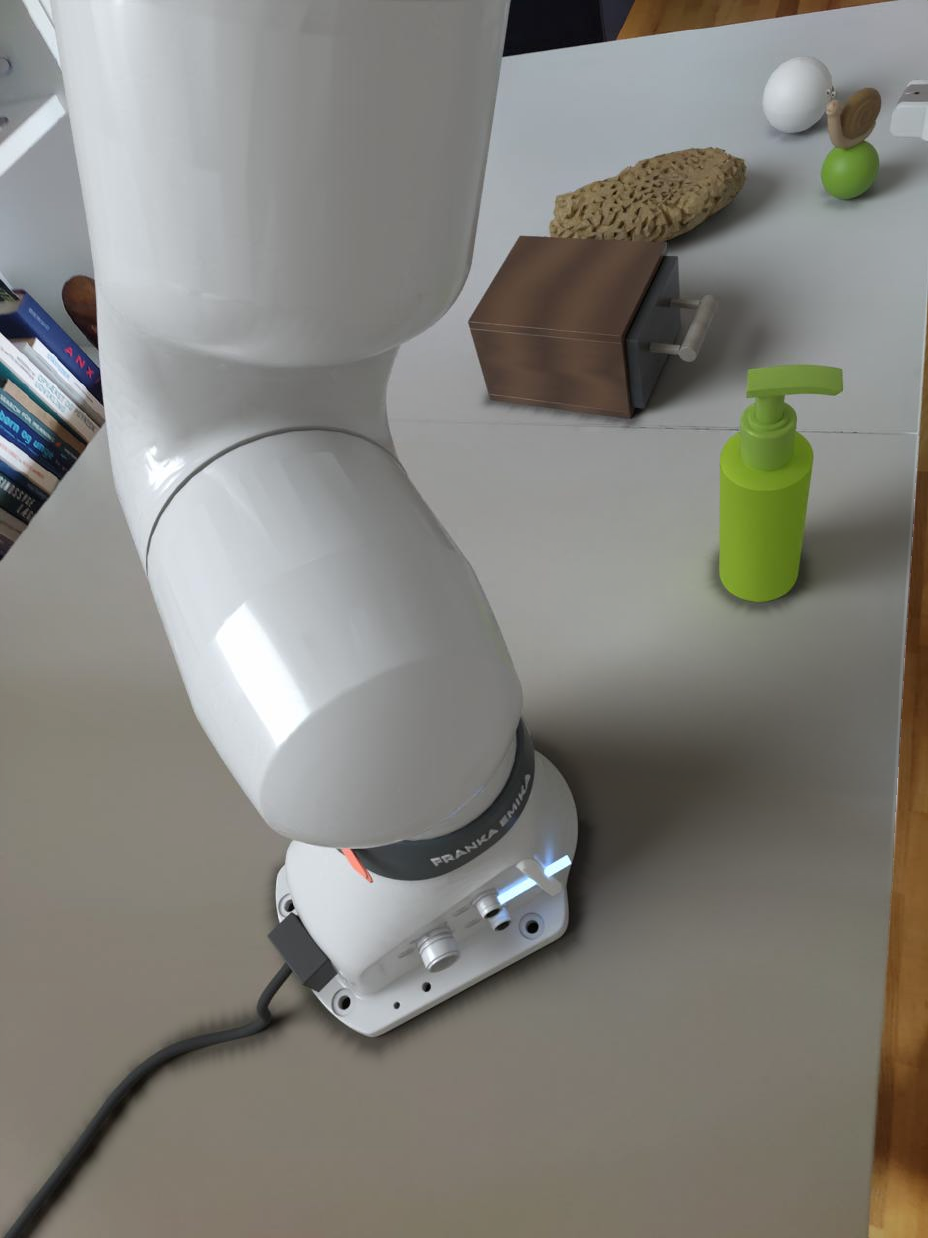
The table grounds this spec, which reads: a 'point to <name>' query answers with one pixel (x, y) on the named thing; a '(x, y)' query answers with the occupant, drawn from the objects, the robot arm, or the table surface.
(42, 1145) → the table surface
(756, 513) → the soap dispenser
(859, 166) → the snail figurine
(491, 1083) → the table surface
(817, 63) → the white egg
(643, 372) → the drawer
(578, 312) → the cabinet
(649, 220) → the sponge
